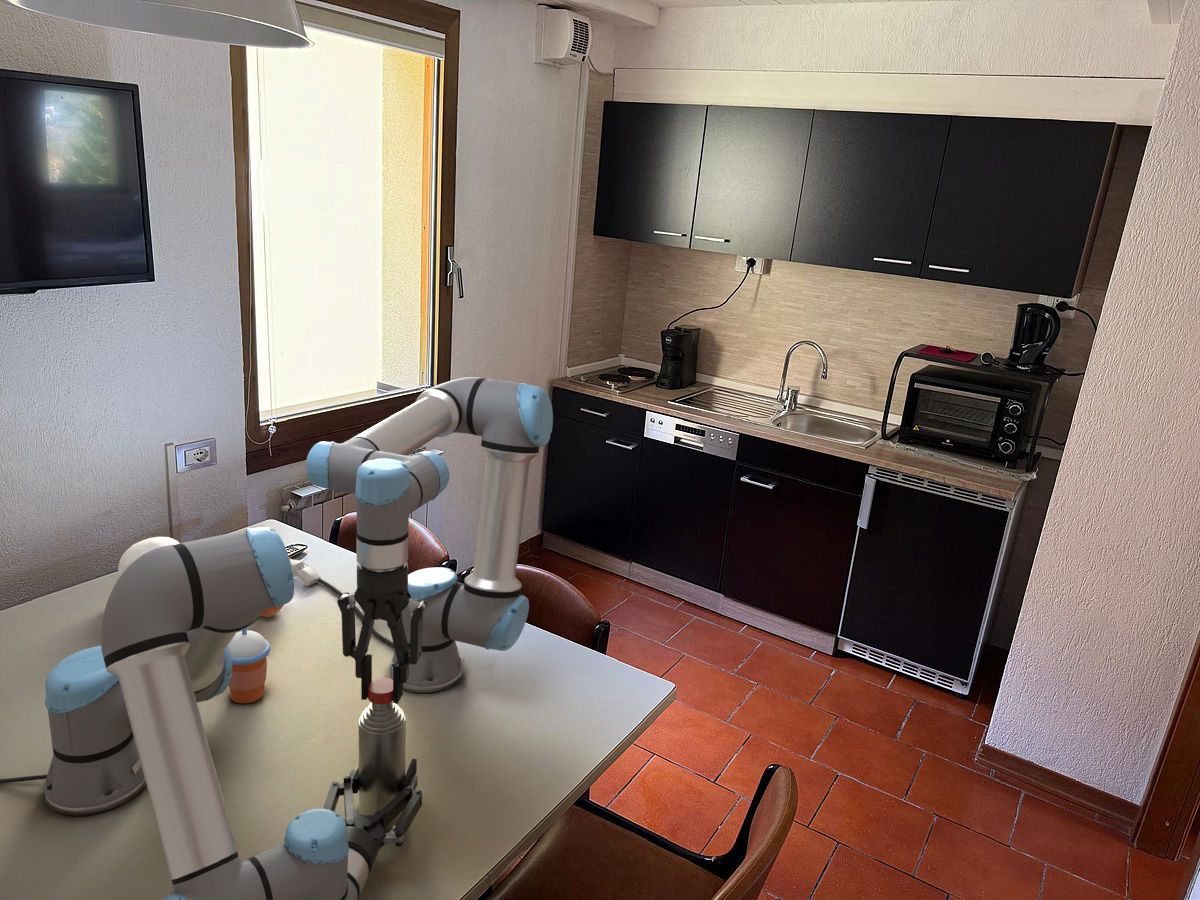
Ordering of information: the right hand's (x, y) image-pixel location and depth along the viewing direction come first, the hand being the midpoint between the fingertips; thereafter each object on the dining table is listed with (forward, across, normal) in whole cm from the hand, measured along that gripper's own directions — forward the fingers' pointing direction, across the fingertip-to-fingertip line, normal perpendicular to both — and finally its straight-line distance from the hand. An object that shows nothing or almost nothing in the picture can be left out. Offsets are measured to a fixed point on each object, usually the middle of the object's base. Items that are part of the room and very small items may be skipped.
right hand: (382, 696), depth 135 cm
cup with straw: (+23, +37, -27) cm, 51 cm away
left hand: (+16, 0, -5) cm, 17 cm away
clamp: (+23, +52, -79) cm, 97 cm away
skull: (+23, +72, -59) cm, 96 cm away
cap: (-2, 0, 0) cm, 2 cm away
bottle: (+23, 0, 0) cm, 23 cm away
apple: (+23, +48, -59) cm, 79 cm away
